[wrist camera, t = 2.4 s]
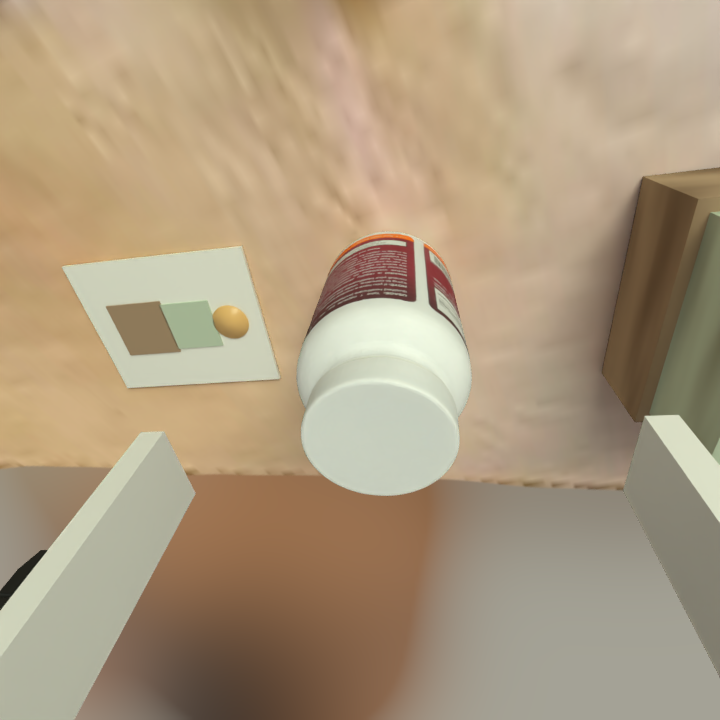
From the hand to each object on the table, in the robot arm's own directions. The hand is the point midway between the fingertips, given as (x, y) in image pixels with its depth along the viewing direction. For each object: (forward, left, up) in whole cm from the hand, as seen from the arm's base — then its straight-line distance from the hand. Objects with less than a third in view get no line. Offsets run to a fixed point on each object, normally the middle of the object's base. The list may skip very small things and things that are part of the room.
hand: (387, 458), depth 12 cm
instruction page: (-12, -1, -11) cm, 17 cm away
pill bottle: (0, 0, -12) cm, 12 cm away
